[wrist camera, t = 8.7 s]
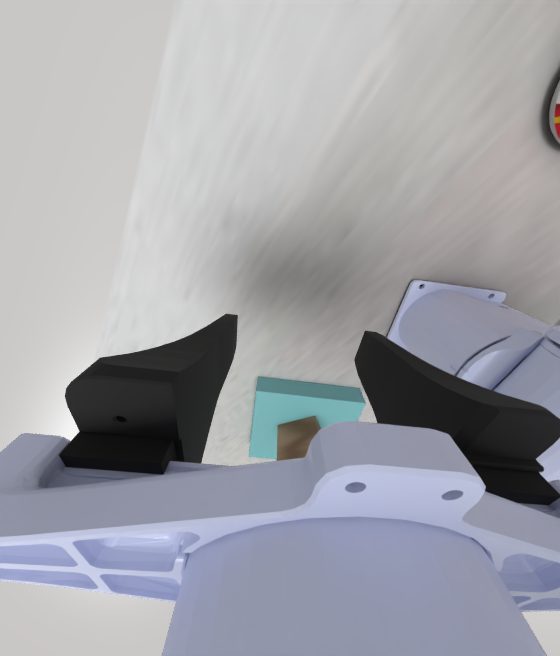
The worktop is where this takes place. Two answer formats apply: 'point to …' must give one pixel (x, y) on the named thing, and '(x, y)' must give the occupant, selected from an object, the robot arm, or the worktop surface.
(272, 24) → the worktop surface
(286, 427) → the walnut cube
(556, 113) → the soda can
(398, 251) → the worktop surface
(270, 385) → the teal box
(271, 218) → the worktop surface
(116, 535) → the robot arm
